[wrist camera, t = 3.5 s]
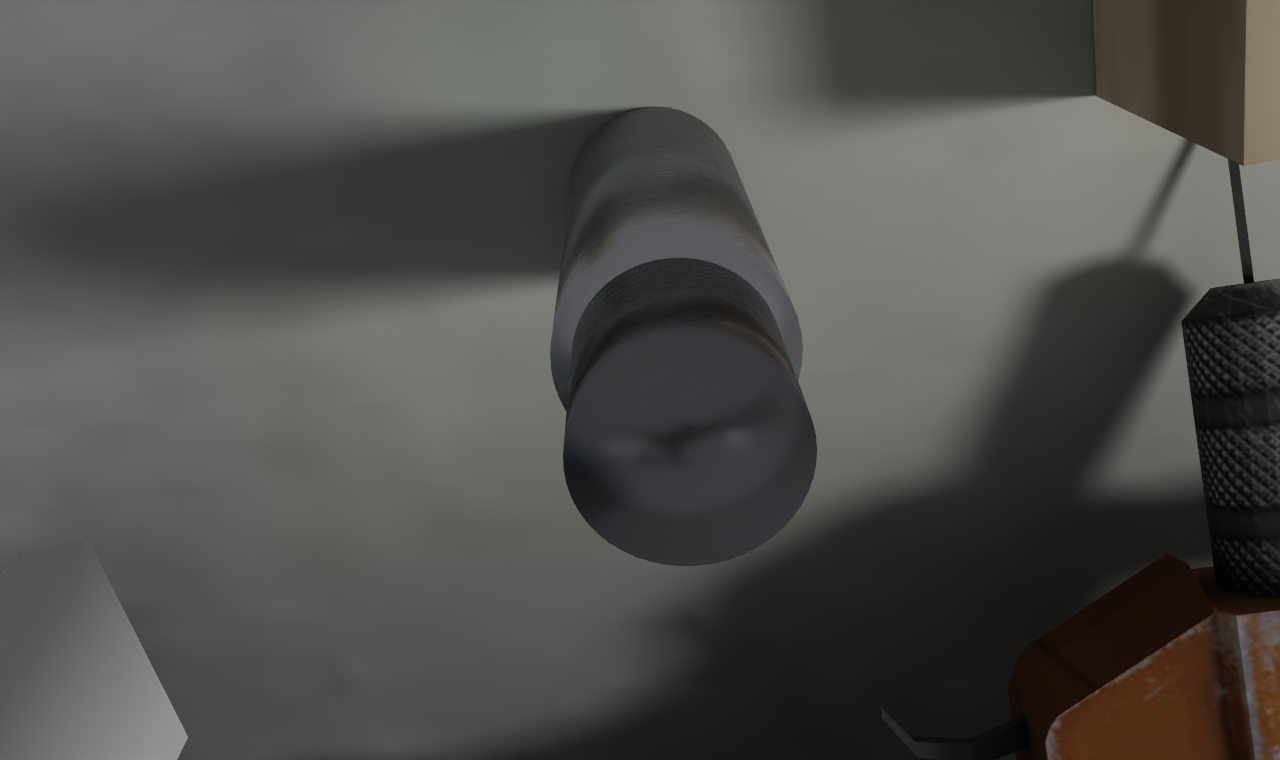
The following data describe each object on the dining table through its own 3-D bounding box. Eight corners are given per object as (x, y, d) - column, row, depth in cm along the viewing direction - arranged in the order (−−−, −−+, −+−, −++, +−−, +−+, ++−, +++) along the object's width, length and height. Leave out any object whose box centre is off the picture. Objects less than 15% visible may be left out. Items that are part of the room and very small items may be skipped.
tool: (569, 1401, 24) (2161, 1341, 20) (386, 145, 23) (1989, -124, 20) (597, 1248, 28) (1930, 1176, 25) (441, 174, 27) (1782, -46, 24)
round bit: (592, 284, 25) (577, 610, 14) (553, 127, 23) (503, 354, 13) (750, 251, 25) (860, 555, 14) (721, 90, 23) (819, 288, 12)
